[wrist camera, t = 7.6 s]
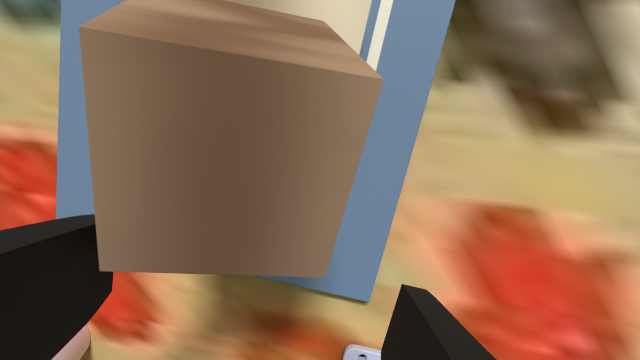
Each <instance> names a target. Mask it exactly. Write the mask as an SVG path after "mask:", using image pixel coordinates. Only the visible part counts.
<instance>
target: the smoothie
mask: <svg viewBox="0 0 640 360" xmlns="http://www.w3.org/2000/svg"><path fill="white" fill-rule="evenodd" d="M89 344H90V333H89V330H88V327H87V326H86V325H85V326H84V327H83V328H82V329H81V330H80V331H79V332H78V333H77V334H76V335H75V336H74V338H73V339H72V340H71V341H70V342H69V343H68V344H67V345H66V346H65V347H64V348H63V349H62V350H61V351H60V352H59V353H58V354H57V355H56V356H55V357H54V358H53V359H52V360H80V359H81V357H82V356H83V354H84V353H85V352H86V350H87V349H88V347H89Z"/></svg>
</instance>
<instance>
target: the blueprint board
mask: <svg viewBox="0 0 640 360" xmlns="http://www.w3.org/2000/svg"><path fill="white" fill-rule="evenodd" d="M124 1H126V0H61V40H60V79H59V119H58V158H57V197H56V219H61V218H66V217H72V216H79V215H89V214H95V211H94V200H93V188H92V176H91V164H90V152H89V141H88V129H87V117H86V105H85V93H84V82H83V70H82V58H81V46H80V34H79V26H81V25H83V24H84V23H86V22H88V21H90V20H92V19H93V18H95V17H97V16H99V15H101V14H102V13H104V12H106V11H108V10H110V9H111V8H113V7H115V6H117V5H118V4H120V3H122V2H124ZM454 4H455V0H372V2H371V6H370V11H369V15H368V19H367V24H366V28H365V32H364V37H363V41H362V45H361V50H360V54H359V56H360V57H361V58H362V59H364V60H365V61H366V62H367V63H368V64H369V65H370V66H371V67H372V68H373V69H374V70H375V71H376V72H377V73H378V74H379V75H380V76H381V77H382V78H383V79H384V81H383V85H382V88H381V91H380V95H379V98H378V101H377V105H376V108H375V111H374V115H373V118H372V121H371V125H370V128H369V131H368V135H367V138H366V141H365V145H364V148H363V151H362V155H361V158H360V162H359V165H358V168H357V172H356V175H355V178H354V182H353V185H352V188H351V192H350V195H349V198H348V202H347V205H346V208H345V212H344V215H343V218H342V222H341V225H340V228H339V232H338V235H337V238H336V242H335V245H334V248H333V252H332V255H331V258H330V262H329V265H328V268H327V272H326V275H325V277H292V276H257V275H252V276H256V277H261V278H265V279H270V280H274V281H278V282H283V283H287V284H292V285H296V286H300V287H305V288H309V289H313V290H318V291H322V292H327V293H331V294H335V295H340V296H344V297H349V298H353V299H357V300H362V301H366V302H369V300H370V297H371V293H372V290H373V286H374V283H375V279H376V276H377V272H378V269H379V265H380V262H381V259H382V255H383V252H384V248H385V245H386V241H387V238H388V234H389V231H390V227H391V224H392V220H393V217H394V213H395V210H396V206H397V203H398V199H399V196H400V192H401V189H402V185H403V182H404V178H405V175H406V171H407V168H408V164H409V161H410V157H411V154H412V150H413V147H414V143H415V140H416V136H417V133H418V129H419V126H420V123H421V119H422V116H423V112H424V109H425V105H426V102H427V98H428V95H429V91H430V88H431V84H432V81H433V77H434V74H435V70H436V67H437V63H438V60H439V56H440V53H441V49H442V46H443V42H444V39H445V35H446V32H447V28H448V25H449V21H450V18H451V14H452V11H453V7H454Z"/></svg>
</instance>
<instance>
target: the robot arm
mask: <svg viewBox="0 0 640 360" xmlns="http://www.w3.org/2000/svg"><path fill="white" fill-rule="evenodd" d="M112 282H113V271H100V270H99V259H98V247H97V235H96V223H95V214H89V215H79V216H72V217H66V218H61V219H55V220H50V221H45V222H40V223H35V224H30V225H25V226H20V227H15V228H11V229H6V230H1V231H0V360H52V359H53V358H54V357H55V356H56V355H57V354H58V353H59V352H60V351H61V350H62V349H63V348H64V347H65V346H66V345H67V344H68V343H69V342H70V341H71V340H72V339H73V338H74V336H75V335H76V334H77V333H78V332H79V331H80V330H81V329H82V328H83V327H84V326H85V325H86V324H87V323H88V322H89V320H90V319H91V318H92V317H93V315H94V314H95V313H96V312H97V310H98V309H99V308H100V306H101V305H102V304H103V302H104V301H105V300H106V298H107V297H108V296H109V294H110V293H111V291H112ZM361 354H364V355H366V356H365V357H360V356H359V355H361ZM342 360H496V359H495V358H494V357H493V356H492V355H491V354H490V353H489V352H488V351H487V350H486V349H485V348H484V347H483V346H482V345H481V344H480V343H479V342H478V341H477V340H476V339H475V338H474V337H473V336H472V335H471V334H470V333H469V332H468V331H467V330H466V329H465V328H464V327H463V326H462V325H461V324H460V323H459V322H458V321H457V319H456V318H455V317H454V316H453V315H452V314H451V313H450V312H449V311H448V310H447V309H446V308H445V307H444V306H443V305H442V304H441V303H440V302H439V301H438V300H437V299H436V298H435V297H434V296H433V295H432V294H431V293H430V292H428V291H427V290H425V289H421V288H417V287H412V286H408V285H403V284H402V286H401V289H400V292H399V295H398V298H397V302H396V305H395V308H394V311H393V315H392V318H391V321H390V324H389V327H388V331H387V334H386V337H385V340H384V343H383V347H382V350H377V349H373V348H368V347H364V346H360V345H355V344H351V345H348V346H347V347H346V348H345V350H344V354H343V358H342Z"/></svg>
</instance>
